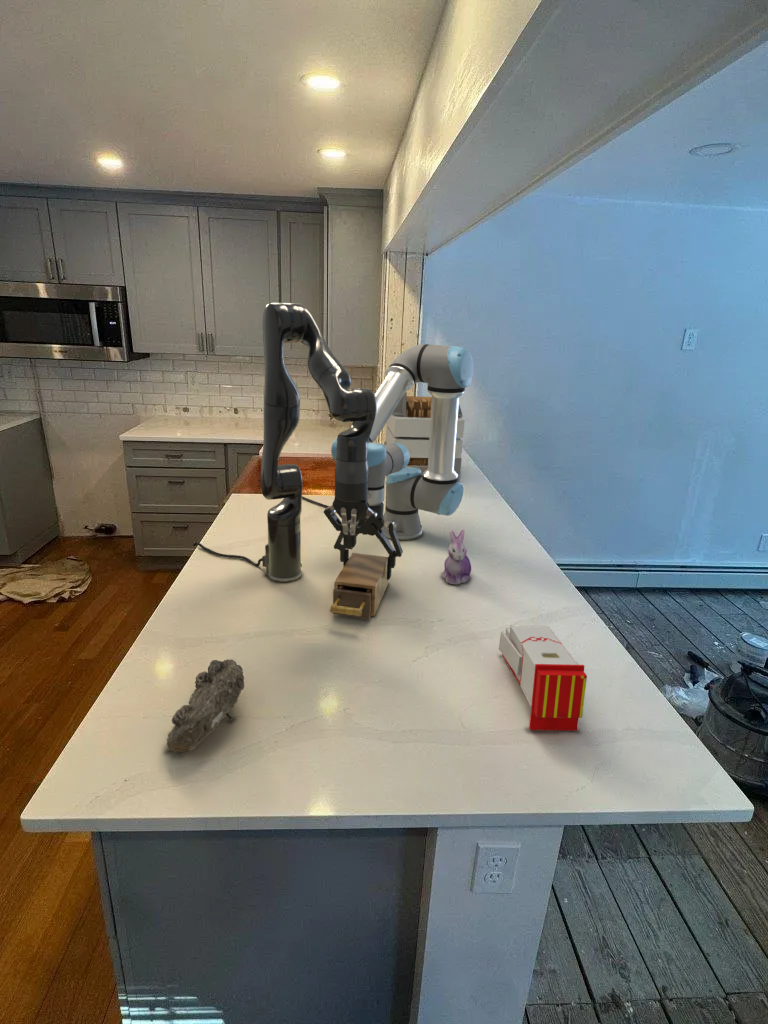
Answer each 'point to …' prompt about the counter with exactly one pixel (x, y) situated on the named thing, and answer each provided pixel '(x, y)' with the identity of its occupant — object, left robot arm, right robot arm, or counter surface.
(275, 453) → the left robot arm
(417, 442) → the grey slatted crate
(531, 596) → the counter surface
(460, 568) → the figurine
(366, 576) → the cabinet
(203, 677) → the fossil
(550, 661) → the toy
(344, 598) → the drawer
